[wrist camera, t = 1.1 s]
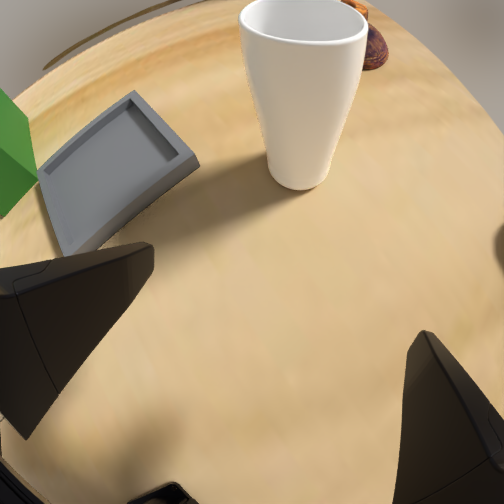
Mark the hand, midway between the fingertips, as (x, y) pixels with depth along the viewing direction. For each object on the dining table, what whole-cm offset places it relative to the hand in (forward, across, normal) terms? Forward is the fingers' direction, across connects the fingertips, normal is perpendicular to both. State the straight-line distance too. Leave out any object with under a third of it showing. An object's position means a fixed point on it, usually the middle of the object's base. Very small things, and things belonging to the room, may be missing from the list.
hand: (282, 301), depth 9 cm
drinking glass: (+19, +2, 0) cm, 19 cm away
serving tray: (+16, +21, +3) cm, 26 cm away
